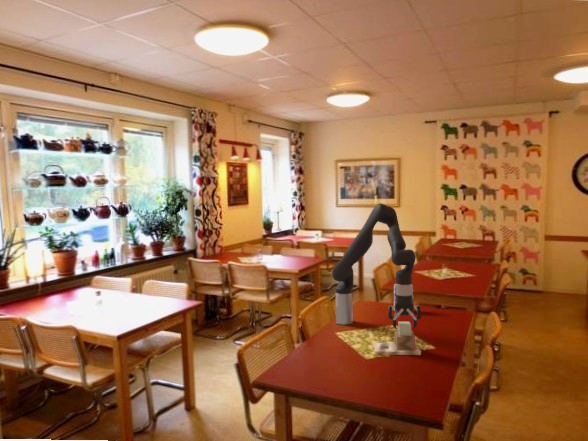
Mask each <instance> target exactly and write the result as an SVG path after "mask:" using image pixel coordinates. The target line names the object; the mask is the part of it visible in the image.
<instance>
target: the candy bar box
mask: <svg viewBox="0 0 588 441" xmlns="http://www.w3.org/2000/svg"><path fill="white" fill-rule="evenodd" d="M412 290H413V306H415V305H414V302H415V301H414V299H415V298H414V290H415V289H414V285H413V284H412ZM395 305H396V283H394V284H393V306H395ZM414 310H415V308H414V309H413V310H412V313H413V314H414ZM393 311H394V313H395V312H396V311H397V310H396V309H395V308H394V310H393Z"/></svg>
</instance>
